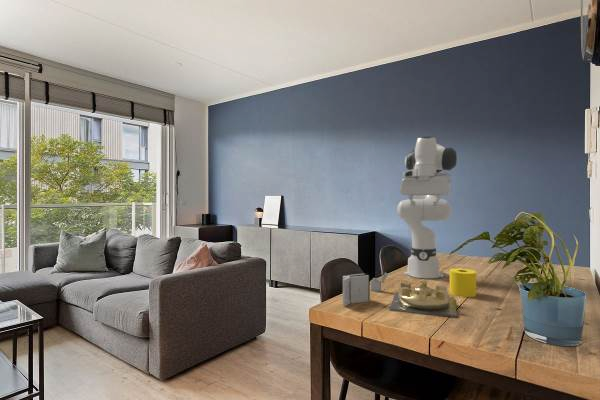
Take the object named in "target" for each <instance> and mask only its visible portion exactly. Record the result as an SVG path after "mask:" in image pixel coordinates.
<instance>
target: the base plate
mask: <svg viewBox="0 0 600 400" xmlns="http://www.w3.org/2000/svg"><path fill="white" fill-rule="evenodd" d="M389 311H392V312H393V311H395V312H404V313H410V314H411V313H414V314H420V315H429V316H430V315H431V316H438V317H440V316H441V317H446V318H447V317H448V318H456V319H457V318H458V313H457V307H456V303H455V298H454V296H449V306H448V307H447V308H444V309H437V310H427V309H418V308H413V307H409V306H406V305H403V304H401V303H400V302H399V301H398V291H395V292H394V296H393V298H392V301H391V303H390V306H389Z"/></svg>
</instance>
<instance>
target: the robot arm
mask: <svg viewBox="0 0 600 400" xmlns="http://www.w3.org/2000/svg"><path fill="white" fill-rule="evenodd" d="M457 163H458V155H457V151H456V150H455V149H454V148H453V147H447V146H444V145H441V144H438V143H437V139H436V137H434V136H419V137H417V139H416V142H415V147H414V149H412V151H409V152H408V153H407V154H406V156H405V158H404V165H405V168H406V169H407V171H405V172H403V173H402V177H403V178H402V180H401V183H400V191H399V192H400V194H401V195H402V196H406V197H407V196H408V197H407V199H404V200H403V199H402V200H400V202H399V203H398V204H397V207H396V208H397V209H396V211H397V212H396V213H397V214H398V217H400V219H402V220H403V221H404V222H405V223H406V225H408V228H409V229H410V233H411V249H410V254H411V255H410V256H409V257H408V259H407V270H406V271H404V272H403V274H404V275H405V276H409V277H413V278H416V279H417V278H418V279H438V278H444V274H443V273H442V272H441V271H440V269H441V267H440V260H439V259H438V257H437V247H436V233H435V232H434V230H433V229H431V228H429V227H428V226H426V225H424V224H423V221H424V222H427V221H432V222H439V221H446V220H448V219H449V218H450V216H451V214H452V205H451V204H450V202H449V201H448V200H446V199H444V198H442V196H449V195H450V194H451V190H452V189H451V181H452V175H451V174H450V173H448V172H442V171H451V170H453V169H454V168H455V167H456V166H457Z"/></svg>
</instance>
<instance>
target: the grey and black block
mask: <svg viewBox="0 0 600 400" xmlns="http://www.w3.org/2000/svg"><path fill="white" fill-rule="evenodd" d="M370 291H371V279H370V274H368V273H358V274H357V273H356V274H348V275H343V276H342V307H344V308H345V307H347V306H349V305H350V304H355V303H356V304H357V303H363V302H369V301H370V298H371V297H370V295H371V294H370V293H371V292H370Z"/></svg>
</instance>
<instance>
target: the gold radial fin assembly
mask: <svg viewBox="0 0 600 400" xmlns="http://www.w3.org/2000/svg"><path fill="white" fill-rule="evenodd" d="M397 292H398V301H399V302H400V303H401V304H403V305H406V306H409V307H413V308H418V309H427V310H437V309H444V308H447V307H448V306H449V297H450V295H449V291H448V286H447V285H443V284H442V285H440V284H439V285H435V288H432V287H428V281H422V280H421V281H420V284H419V286H415V287H412V283H411V282H406V281H403V282H400V287H399V288H398V291H397Z"/></svg>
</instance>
